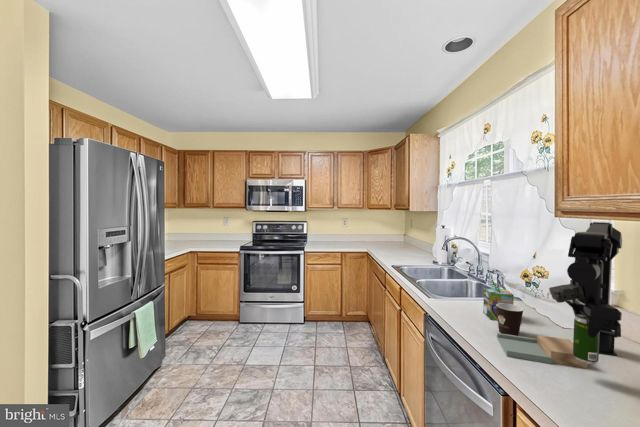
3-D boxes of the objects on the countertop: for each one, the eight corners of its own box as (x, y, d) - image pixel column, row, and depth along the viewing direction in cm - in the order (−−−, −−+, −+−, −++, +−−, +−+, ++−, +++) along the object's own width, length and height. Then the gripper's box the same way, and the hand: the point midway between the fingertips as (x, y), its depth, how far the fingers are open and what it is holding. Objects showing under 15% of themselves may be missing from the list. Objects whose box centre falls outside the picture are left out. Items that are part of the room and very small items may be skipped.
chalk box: (513, 322, 122) (515, 287, 121) (489, 319, 124) (490, 285, 123) (504, 314, 131) (505, 281, 130) (482, 312, 133) (483, 280, 132)
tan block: (568, 349, 98) (569, 339, 98) (587, 368, 87) (587, 356, 87) (536, 344, 101) (537, 335, 101) (550, 362, 90) (551, 350, 90)
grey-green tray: (535, 343, 102) (536, 338, 102) (551, 363, 89) (552, 357, 89) (496, 337, 106) (496, 332, 106) (506, 356, 93) (506, 350, 93)
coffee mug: (526, 339, 106) (527, 312, 105) (500, 336, 107) (501, 310, 107) (512, 326, 117) (513, 301, 117) (489, 324, 119) (489, 300, 118)
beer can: (604, 364, 79) (605, 321, 79) (585, 364, 79) (587, 321, 79) (584, 354, 85) (586, 313, 84) (567, 354, 84) (569, 314, 84)
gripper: (541, 268, 93) (539, 316, 93) (568, 283, 75) (566, 342, 76) (584, 271, 89) (582, 322, 89) (624, 287, 71) (621, 350, 72)
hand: (586, 332), depth 82 cm, fingers closed on beer can, 5 cm apart
